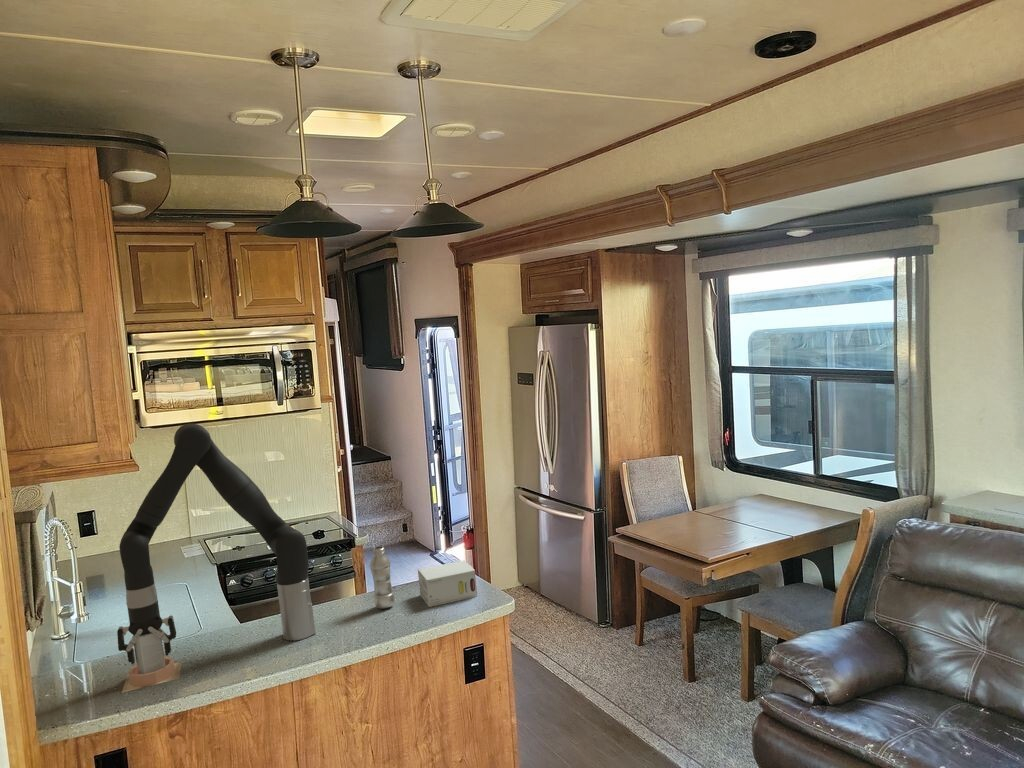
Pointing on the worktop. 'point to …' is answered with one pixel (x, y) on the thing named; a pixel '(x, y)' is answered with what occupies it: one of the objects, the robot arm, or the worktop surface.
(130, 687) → the cork mat
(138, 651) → the skincare box
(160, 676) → the terracotta bowl
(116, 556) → the worktop surface
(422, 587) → the supplement box
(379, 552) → the plastic bottle
